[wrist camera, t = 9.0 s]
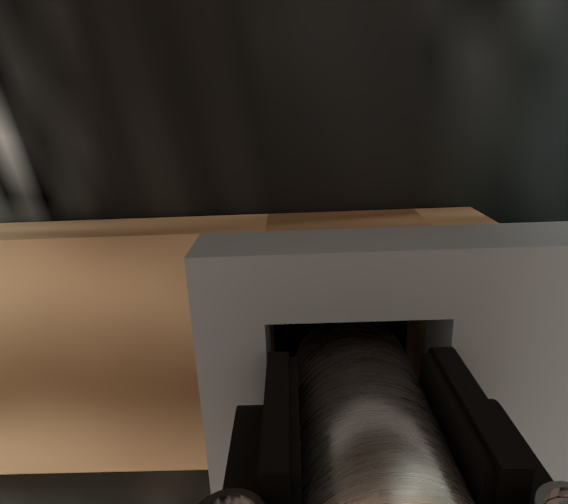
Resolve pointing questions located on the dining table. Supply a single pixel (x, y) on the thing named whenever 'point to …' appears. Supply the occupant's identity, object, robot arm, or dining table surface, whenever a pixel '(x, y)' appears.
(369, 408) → the pin
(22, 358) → the link
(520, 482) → the robot arm
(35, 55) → the dining table surface
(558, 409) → the link
